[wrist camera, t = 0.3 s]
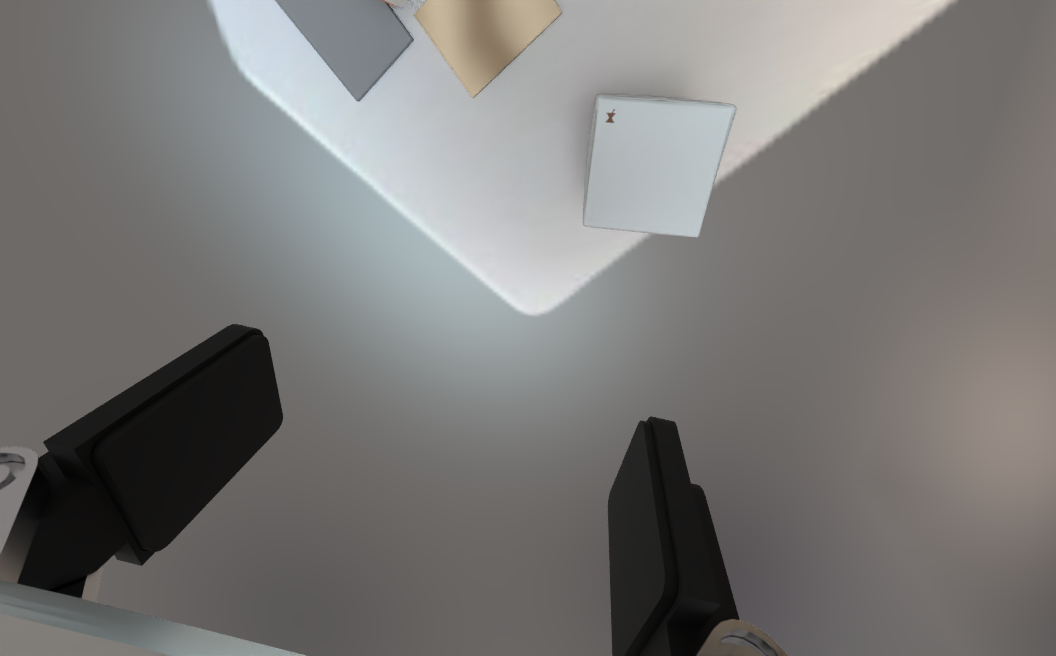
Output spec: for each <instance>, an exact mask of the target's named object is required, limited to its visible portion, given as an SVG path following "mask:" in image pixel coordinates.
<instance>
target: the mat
mask: <svg viewBox="0 0 1056 656" xmlns="http://www.w3.org/2000/svg"><path fill="white" fill-rule="evenodd" d="M275 1H276V2H277V3H278V5H279V6H280V7H281V8H282V10H283V11H284V12H285V13H286V14H287V16H288V17H289V18H290V19H291V21H292V22H293V23H294V24H295V26H296V27H297V28H298V29H299V30H300V32H301V33H302V34H303V35H304V37H305V38H306V39H307V40H308V42H309V43H310V44H311V45H312V46H313V48H314V49H315V50H316V51H317V53H318V54H319V55H320V56H321V58H322V59H323V60H324V61H325V63H326V64H327V65H328V66H329V67H330V69H331V70H332V71H333V72H334V74H335V75H336V76H337V77H338V79H339V80H340V81H341V82H342V83H343V85H344V86H345V87H346V88H347V90H348V91H349V92H350V93H351V95H352V96H353V97H354V98H355V99H356V101H360V100H361V99H362V97H363V96H364V95H365V94H366V93H367V92H368V91H369V90H370V88H371V87H372V86H373V85H374V84H375V83H376V82H377V81H378V79H379V78H380V77H381V76H382V75H383V74H384V73H385V72H386V70H387V69H388V68H389V67H390V66H391V65H392V64H393V62H394V61H395V60H396V59H397V58H398V57H399V56H400V55H401V53H402V52H403V51H404V50H405V49H406V48H407V47H408V46H409V44H410V43H411V42H412V41H413V38H412V37H411V35H410V34H409V33H408V31H407V30H406V29H405V27H404V26H403V24H402V23H401V22H400V20H399V19H398V17H397V16H396V15H395V13H394V12H393V11H392V9H391V8H390V6H389V5H388V4H387V3H385V2H383V1H381V0H275Z"/></svg>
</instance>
